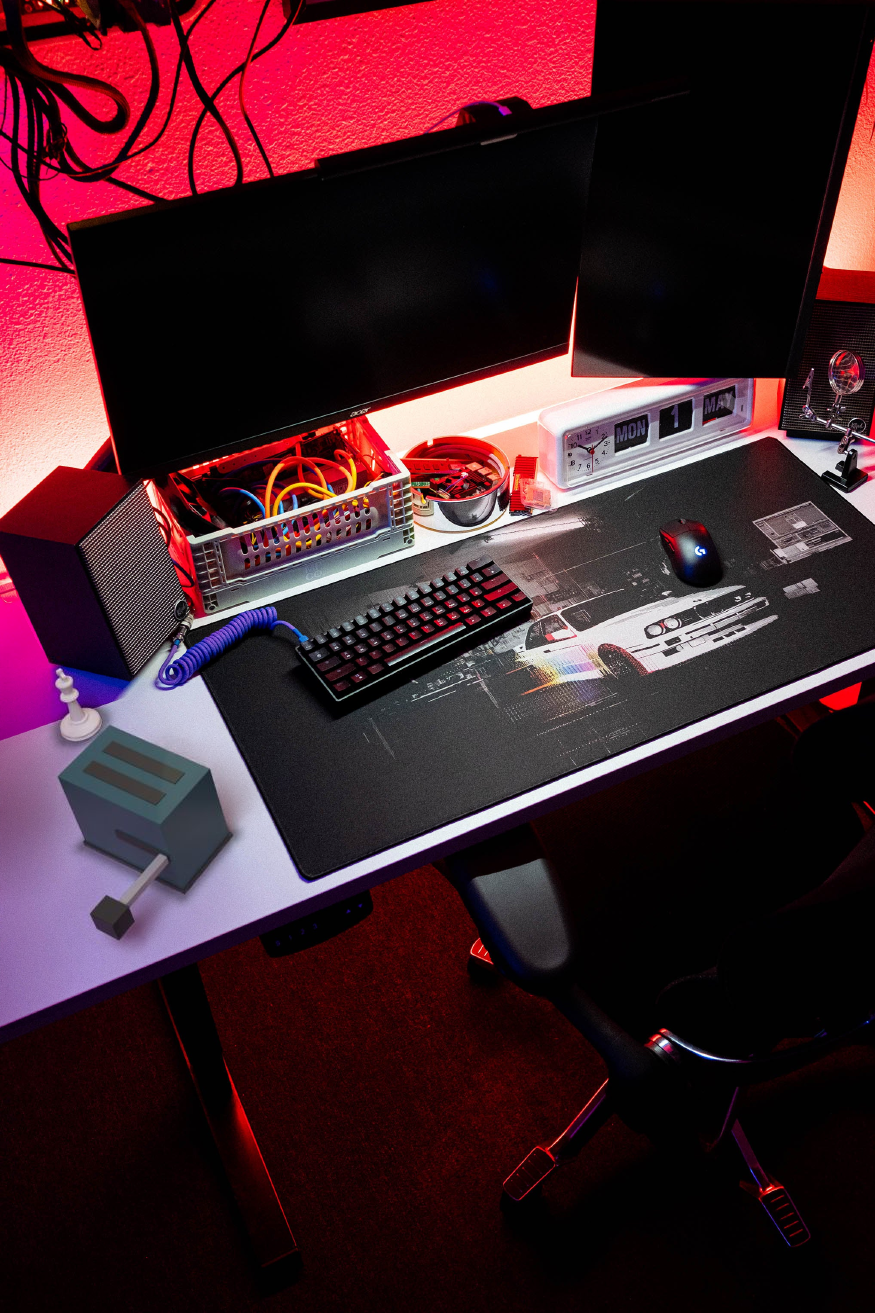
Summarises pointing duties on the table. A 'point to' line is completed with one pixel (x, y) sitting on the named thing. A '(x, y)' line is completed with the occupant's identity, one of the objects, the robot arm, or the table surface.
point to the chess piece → (76, 712)
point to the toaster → (146, 806)
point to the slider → (125, 903)
